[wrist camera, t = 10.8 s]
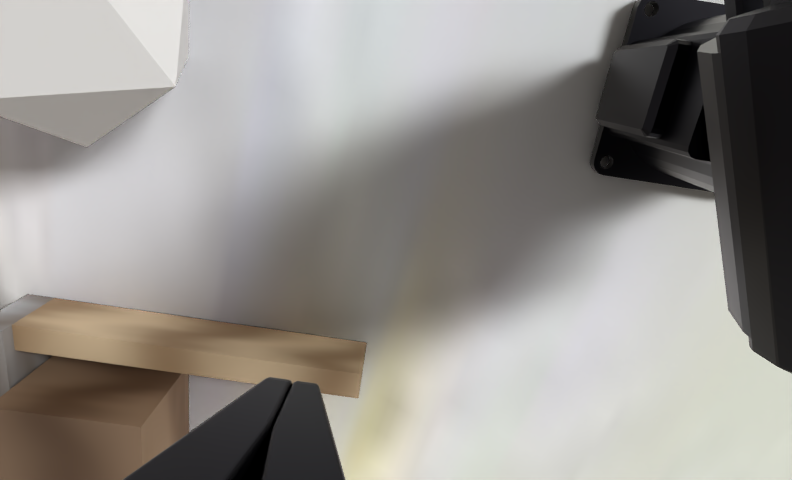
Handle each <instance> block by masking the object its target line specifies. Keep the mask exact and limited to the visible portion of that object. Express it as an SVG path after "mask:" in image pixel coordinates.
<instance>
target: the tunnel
mask: <svg viewBox="0 0 792 480" xmlns="http://www.w3.org/2000/svg"><path fill="white" fill-rule="evenodd" d="M366 344H367V343H365V342H358V341H351V340H344V339H337V338H330V337H323V336H316V335H309V334H302V333H295V332H288V331H281V330H274V329H267V328H260V327H253V326H246V325H239V324H232V323H225V322H218V321H211V320H204V319H197V318H190V317H183V316H176V315H169V314H162V313H155V312H148V311H141V310H134V309H127V308H120V307H113V306H106V305H99V304H92V303H85V302H78V301H71V300H64V299H57V298H50V297H43V296H36V295H29V294H27V295H26V296H24V297H22V298H20V299H19V300H17V301H15V302H13V303H12V304H10V305H8V306H7V307H5V308H3V309H1V310H0V397H1V396H2V395H4V394H5V393H6V392H7V391H9V390H10V389H11V388H12V387H14V386H15V385H16V384H18V383H19V382H20V381H21V380H23V379H24V378H25V377H26V376H28V375H29V374H30V373H32V372H33V371H34V370H35V369H37V368H38V367H39V366H40V365H42V364H43V363H44V362H46V361H47V360H48V359H49V358H51V357H52V356H60V357H67V358H74V359H81V360H88V361H95V362H102V363H110V364H117V365H124V366H131V367H138V368H145V369H153V370H160V371H167V372H174V373H181V374H188V375H195V376H203V377H210V378H217V379H224V380H231V381H238V382H245V383H253V384H258V383H260V382H261V381H263V380H264V379H266V378H268V377H274V378H281V379H288V380H291V381H292V384H293V383H294V382H296V381H302V382H309V383H316V384H318V386H319V387H320V391H321V393H324V394H331V395H338V396H345V397H353V398H358V397H359V390H360V384H361V377H362V371H363V364H364V357H365V351H366Z"/></svg>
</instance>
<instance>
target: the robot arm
mask: <svg viewBox="0 0 792 480" xmlns="http://www.w3.org/2000/svg"><path fill="white" fill-rule="evenodd" d="M647 3H650V4H652V6H653V13H652V15H651V16H650V17H648V16H646V15H645V13H644V8H645V6H646V4H647ZM724 3H725V5H723V4H717V3H711V2H704V1H698V0H638V1H637V2H636V3H635V5H634V7H633V9H632V13H631V16H630V20H629V24H628V27H627V31H626V34H625V38H624V41H623V45H622V46H621V47H620V48H619V49H617V50H616V51H614V53H613V57H612V61H611V64H610V68H609V71H608V75H607V79H606V82H605V86H604V89H603V93H602V97H601V100H600V104H599V108H598V111H597V115H596V119H597V121H598V123H599V124H600V127H599V130H598V134H597V138H596V141H595V145H594V148H593V152H592V155H591V159H590V165H591V168H592V169H593V170H594V171H595V172H597V173H599V174H602V175H607V176H613V177H620V178H626V179H633V180H639V181H646V182H652V183H659V184H665V185H672V186H678V187H685V188H691V189H698V190H704V191H711V192H714V195H715V203H716V211H717V219H718V228H719V236H720V244H721V252H722V261H723V269H724V277H725V285H726V294H727V302H728V310H729V312H730V313H731V315H732V316H733V317H734V319H735V320H736V322H737V323H738V325H739V326H740V328H741V329H742V331H743V332H744V333H745V334H747V335H748V336H749V345H750V348H751V349H752V350H753V351H754V352H756V353H757V354H759V355H760V356H762V357H763V358H765V359H766V360H768V361H769V362H771V363H773V364H774V365H776V366H777V367H779V368H781V369H783V370H786V371H788V372H790V373H792V0H724ZM605 156H608V157H609V163H608V165H606V166H605V167H601V165H600V161H601V159H602V158H603V157H605ZM123 480H345V477H344V473H343V470H342V466H341V462H340V459H339V455H338V452H337V448H336V445H335V441H334V437H333V434H332V430H331V427H330V423H329V420H328V416H327V412H326V409H325V405H324V402H323V398H322V394H321V391H320V387H319V386H318V384H316V383H309V382H302V381H296V382H294V383H293V384H292V381H291V380H288V379H281V378H274V377H268V378H266V379H264V380H263V381H261V382H260V383H258V384H257V385H256V386H254V387H253V388H251V389H250V390H249V391H247V392H246V393H244V394H243V395H241V396H240V397H239V398H237V399H236V400H234V401H233V402H232V403H230V404H229V405H227V406H226V407H224V408H223V409H222V410H220V411H219V412H217V413H216V414H215V415H213V416H212V417H210V418H209V419H208V420H206V421H205V422H203V423H202V424H200V425H199V426H198V427H196V428H195V429H193V430H192V431H191V432H189V433H188V434H186V435H185V436H183V437H182V438H181V439H179V440H178V441H176V442H175V443H174V444H172V445H171V446H169V447H168V448H166V449H165V450H164V451H162V452H161V453H159V454H158V455H157V456H155V457H154V458H152V459H151V460H149V461H148V462H147V463H145V464H144V465H142V466H141V467H140V468H138V469H137V470H135V471H134V472H133V473H131V474H130V475H128V476H127V477H125V478H124V479H123Z"/></svg>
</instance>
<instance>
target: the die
mask: <svg viewBox="0 0 792 480" xmlns="http://www.w3.org/2000/svg"><path fill="white" fill-rule="evenodd" d="M189 16H190V0H0V117H3V118H5V119H8V120H11V121H14V122H17V123H20V124H22V125H25V126H28V127H31V128H34V129H37V130H39V131H42V132H45V133H48V134H51V135H53V136H56V137H59V138H62V139H65V140H68V141H70V142H73V143H76V144H79V145H82V146H85V147H89V146H90V145H91V144H93V143H94V142H96V141H97V140H99V139H100V138H102V137H103V136H105V135H106V134H107V133H109V132H110V131H112V130H113V129H115V128H116V127H118V126H119V125H121V124H122V123H124V122H125V121H126V120H128V119H129V118H131V117H132V116H134V115H135V114H137V113H138V112H140V111H141V110H142V109H144V108H145V107H147V106H148V105H150V104H151V103H153V102H154V101H156V100H157V99H158V98H160V97H161V96H163V95H164V94H166V93H167V92H169V91H170V90H172V89H173V88H174V87H176V85H177V82H178V80H179V78H180V76H181V73H182V71H183V69H184V66H185V64H186V62H187V59H188V57H189Z"/></svg>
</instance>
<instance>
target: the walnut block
mask: <svg viewBox="0 0 792 480" xmlns="http://www.w3.org/2000/svg"><path fill="white" fill-rule="evenodd" d="M188 433H189V375H188V374H181V373H174V372H167V371H160V370H153V369H145V368H138V367H131V366H124V365H117V364H110V363H102V362H95V361H88V360H81V359H74V358H67V357H60V356H52V357H51V358H49V359H48V360H47V361H46V362H44V363H43V364H42V365H40V366H39V367H38V368H37V369H35V370H34V371H33V372H32V373H30V374H29V375H28V376H26V377H25V378H24V379H23V380H21V381H20V382H19V383H18V384H16V385H15V386H14V387H12V388H11V389H10V390H9V391H7V392H6V393H5V394H4V395H2V396H1V397H0V480H123V479H124V478H125V477H127V476H128V475H130V474H131V473H133V472H134V471H135V470H137V469H138V468H140V467H141V466H142V465H144V464H145V463H147V462H148V461H149V460H151V459H152V458H154V457H155V456H157V455H158V454H159V453H161V452H162V451H164V450H165V449H166V448H168V447H169V446H171V445H172V444H174V443H175V442H176V441H178V440H179V439H181V438H182V437H183V436H185V435H186V434H188Z"/></svg>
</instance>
